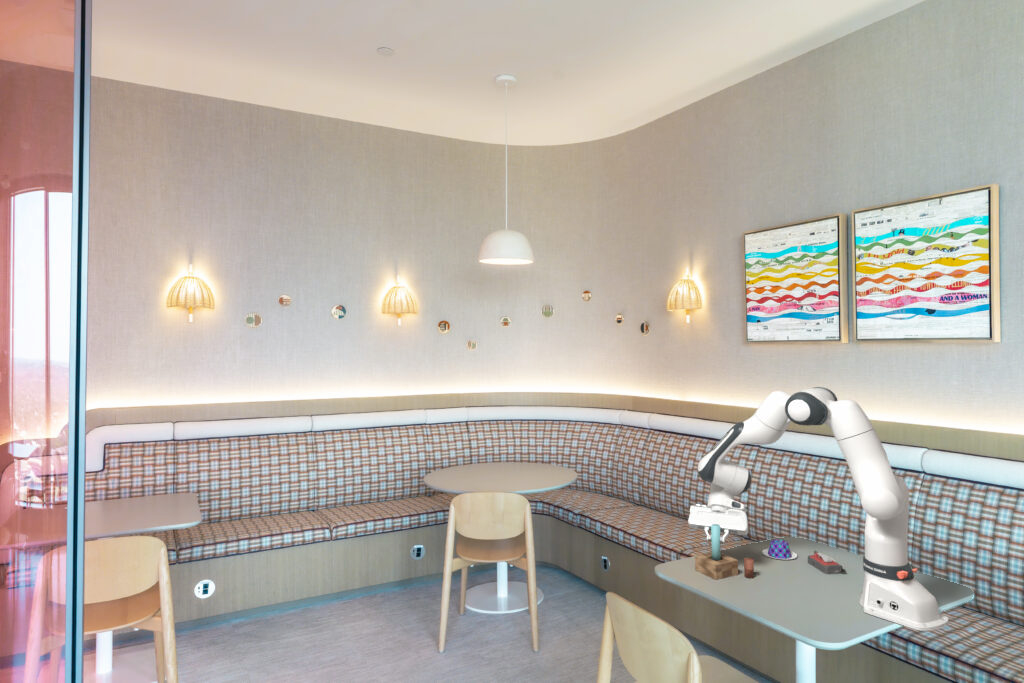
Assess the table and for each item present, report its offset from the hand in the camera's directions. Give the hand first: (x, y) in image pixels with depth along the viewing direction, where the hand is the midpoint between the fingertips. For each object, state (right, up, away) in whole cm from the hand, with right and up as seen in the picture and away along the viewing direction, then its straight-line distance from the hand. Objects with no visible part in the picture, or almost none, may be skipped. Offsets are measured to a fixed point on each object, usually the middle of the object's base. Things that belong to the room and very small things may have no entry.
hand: (715, 541), depth 212 cm
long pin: (0, -7, +1) cm, 8 cm away
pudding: (+29, -11, +17) cm, 35 cm away
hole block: (0, -11, +1) cm, 11 cm away
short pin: (+10, -11, -4) cm, 15 cm away
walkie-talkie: (+40, -11, +6) cm, 42 cm away
